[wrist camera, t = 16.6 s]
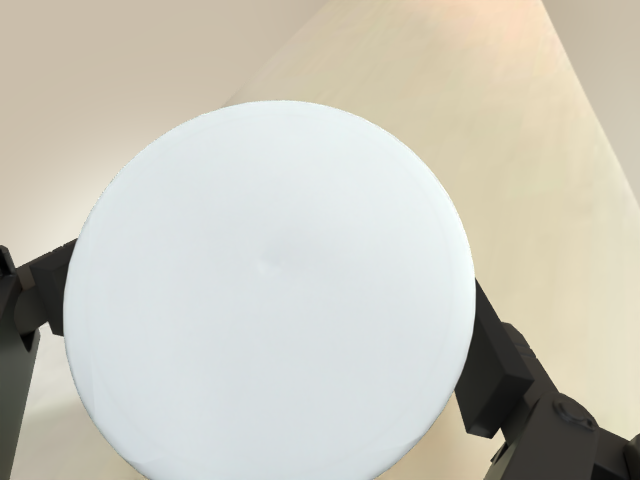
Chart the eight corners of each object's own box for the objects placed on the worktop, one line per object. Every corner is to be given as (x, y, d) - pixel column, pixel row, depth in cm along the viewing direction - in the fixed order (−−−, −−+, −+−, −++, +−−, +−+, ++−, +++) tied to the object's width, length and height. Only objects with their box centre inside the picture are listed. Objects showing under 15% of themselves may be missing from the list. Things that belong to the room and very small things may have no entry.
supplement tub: (261, 229, 22) (169, 51, 8) (384, 264, 22) (507, 132, 8) (212, 363, 19) (-57, 430, 5) (352, 408, 19) (453, 619, 5)
